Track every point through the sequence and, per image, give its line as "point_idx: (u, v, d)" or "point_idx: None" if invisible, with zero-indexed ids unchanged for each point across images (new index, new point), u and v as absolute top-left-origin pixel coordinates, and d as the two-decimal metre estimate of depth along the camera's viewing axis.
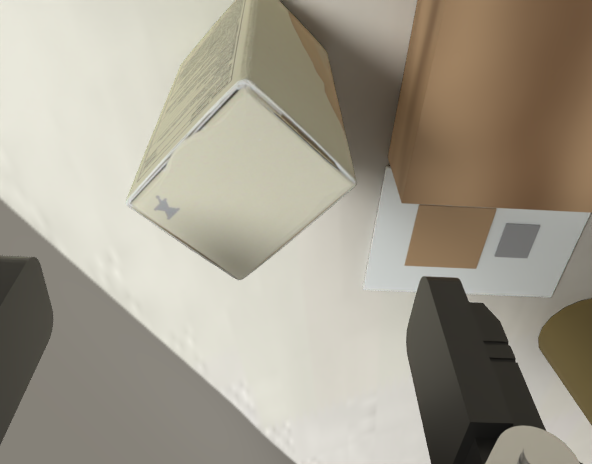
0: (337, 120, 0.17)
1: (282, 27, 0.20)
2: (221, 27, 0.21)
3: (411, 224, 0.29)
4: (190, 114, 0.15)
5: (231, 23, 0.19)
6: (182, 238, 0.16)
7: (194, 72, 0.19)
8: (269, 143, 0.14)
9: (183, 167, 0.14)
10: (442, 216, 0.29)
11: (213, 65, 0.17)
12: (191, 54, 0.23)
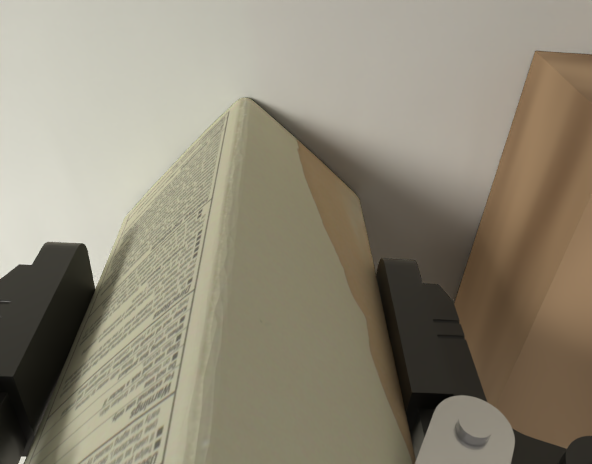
0: (402, 445, 0.08)
1: (288, 205, 0.11)
2: (180, 192, 0.12)
3: None
4: None
5: (193, 204, 0.10)
6: None
7: (121, 302, 0.10)
8: None
9: None
10: None
11: (141, 347, 0.08)
12: (138, 211, 0.14)
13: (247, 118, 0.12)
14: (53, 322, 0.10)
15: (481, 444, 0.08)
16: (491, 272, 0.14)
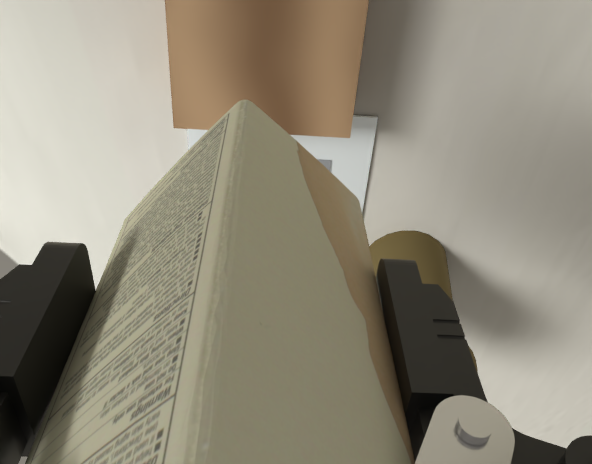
0: (401, 447, 0.08)
1: (287, 207, 0.11)
2: (180, 194, 0.12)
3: None
4: None
5: (193, 206, 0.10)
6: None
7: (122, 304, 0.10)
8: None
9: None
10: None
11: (142, 349, 0.08)
12: (138, 212, 0.14)
13: (247, 120, 0.12)
14: (53, 322, 0.10)
15: (481, 444, 0.08)
16: None
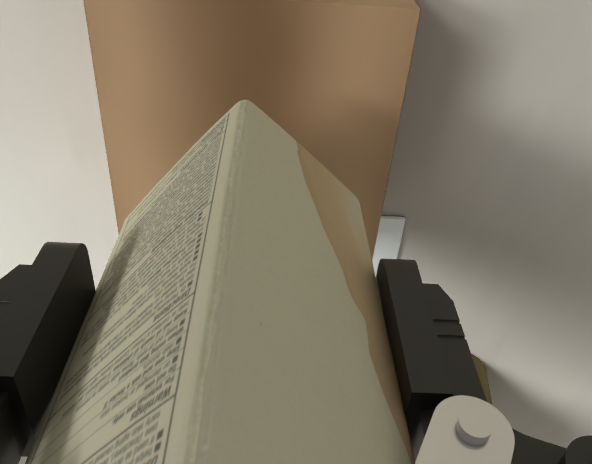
0: (401, 447, 0.08)
1: (287, 207, 0.11)
2: (180, 194, 0.12)
3: None
4: None
5: (193, 207, 0.10)
6: None
7: (122, 304, 0.10)
8: None
9: None
10: None
11: (142, 349, 0.08)
12: (138, 212, 0.14)
13: (247, 120, 0.12)
14: (53, 322, 0.10)
15: (481, 444, 0.08)
16: None
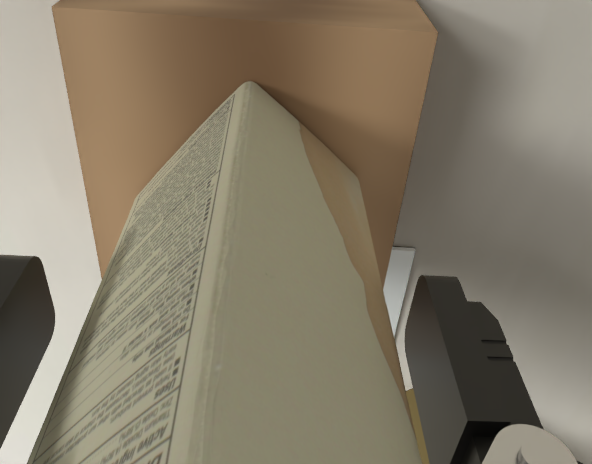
0: (396, 392, 0.09)
1: (290, 178, 0.12)
2: (189, 168, 0.12)
3: None
4: None
5: (202, 177, 0.11)
6: None
7: (136, 267, 0.11)
8: None
9: None
10: None
11: (157, 300, 0.09)
12: (148, 190, 0.15)
13: (252, 99, 0.13)
14: None
15: None
16: None
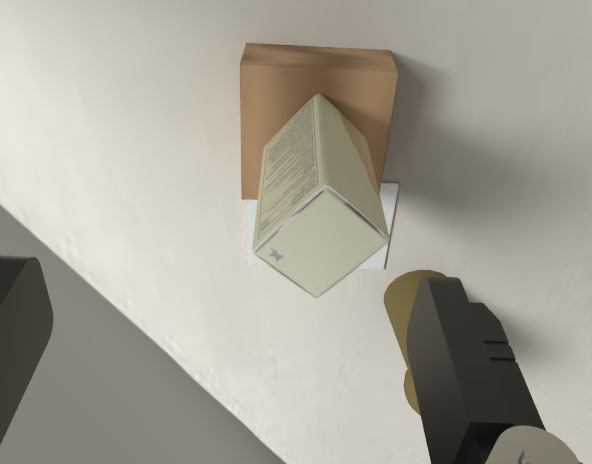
0: (376, 196, 0.28)
1: (338, 131, 0.30)
2: (297, 129, 0.31)
3: None
4: (290, 199, 0.25)
5: (306, 130, 0.30)
6: (283, 272, 0.26)
7: (282, 162, 0.29)
8: (339, 219, 0.24)
9: (288, 232, 0.25)
10: None
11: (299, 164, 0.27)
12: (273, 141, 0.33)
13: (321, 101, 0.31)
14: None
15: None
16: None
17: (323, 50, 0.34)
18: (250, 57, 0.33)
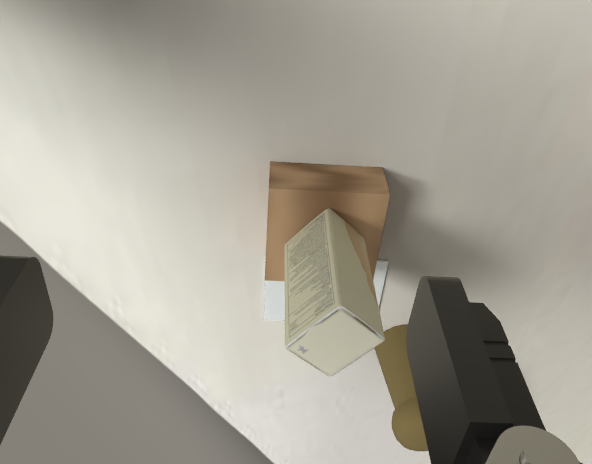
0: (374, 300, 0.37)
1: (345, 244, 0.40)
2: (313, 239, 0.41)
3: (284, 284, 0.52)
4: (313, 310, 0.35)
5: (320, 244, 0.39)
6: (307, 360, 0.36)
7: (303, 269, 0.39)
8: (349, 327, 0.34)
9: (312, 335, 0.34)
10: None
11: (318, 277, 0.37)
12: (292, 243, 0.43)
13: (331, 217, 0.41)
14: None
15: None
16: None
17: (331, 169, 0.44)
18: (275, 180, 0.42)
